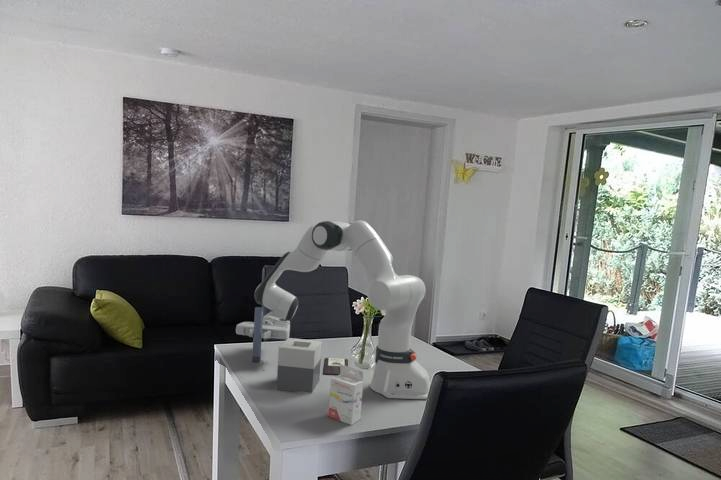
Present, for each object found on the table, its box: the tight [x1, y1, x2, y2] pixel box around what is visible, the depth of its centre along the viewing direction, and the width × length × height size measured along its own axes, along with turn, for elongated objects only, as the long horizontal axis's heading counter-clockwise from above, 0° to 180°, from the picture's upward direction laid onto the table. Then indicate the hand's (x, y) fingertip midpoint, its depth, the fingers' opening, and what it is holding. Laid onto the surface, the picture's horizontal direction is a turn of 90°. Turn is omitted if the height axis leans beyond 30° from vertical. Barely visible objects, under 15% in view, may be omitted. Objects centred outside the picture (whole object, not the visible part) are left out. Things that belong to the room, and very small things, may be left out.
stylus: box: [251, 306, 264, 364], centre depth 179 cm, size 3×3×20 cm
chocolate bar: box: [322, 357, 349, 376], centre depth 186 cm, size 9×1×18 cm
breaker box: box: [275, 337, 323, 394], centre depth 165 cm, size 12×12×14 cm
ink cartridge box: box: [327, 365, 364, 426], centre depth 141 cm, size 9×5×15 cm, turn 58°
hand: (256, 335), depth 178 cm, fingers closed on stylus, 3 cm apart
